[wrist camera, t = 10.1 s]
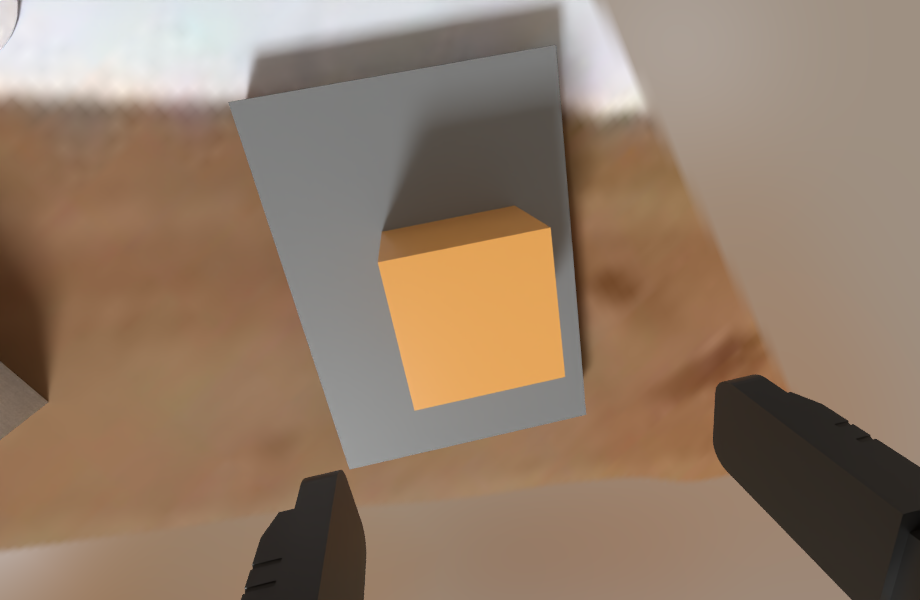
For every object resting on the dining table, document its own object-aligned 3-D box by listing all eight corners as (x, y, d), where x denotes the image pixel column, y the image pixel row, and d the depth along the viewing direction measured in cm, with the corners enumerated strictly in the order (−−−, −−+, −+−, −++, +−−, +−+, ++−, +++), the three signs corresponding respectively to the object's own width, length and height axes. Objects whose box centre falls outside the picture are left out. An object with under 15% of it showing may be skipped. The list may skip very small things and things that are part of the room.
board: (244, 105, 19) (189, 95, 14) (540, 52, 20) (591, 25, 15) (352, 445, 26) (342, 522, 21) (572, 394, 27) (615, 457, 21)
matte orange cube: (381, 231, 20) (377, 262, 15) (514, 205, 20) (550, 227, 16) (410, 351, 22) (414, 410, 17) (529, 325, 22) (565, 376, 18)
